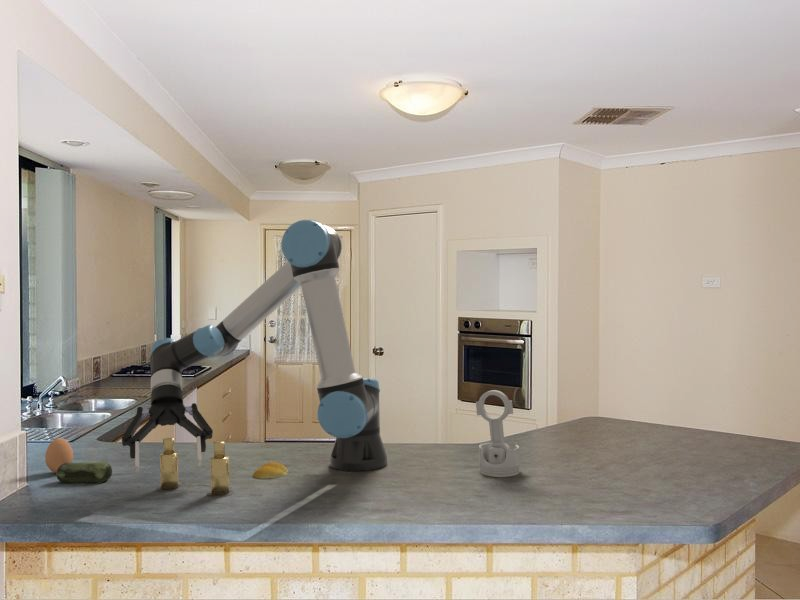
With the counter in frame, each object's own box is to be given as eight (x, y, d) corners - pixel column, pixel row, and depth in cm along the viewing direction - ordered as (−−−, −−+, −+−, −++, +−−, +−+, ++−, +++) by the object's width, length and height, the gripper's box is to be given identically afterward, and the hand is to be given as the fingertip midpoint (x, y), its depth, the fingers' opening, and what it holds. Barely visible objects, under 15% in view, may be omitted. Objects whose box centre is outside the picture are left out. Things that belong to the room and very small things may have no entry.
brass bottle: (182, 486, 160) (181, 437, 160) (170, 491, 156) (169, 440, 156) (168, 485, 161) (167, 436, 161) (156, 489, 158) (155, 439, 158)
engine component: (513, 478, 166) (523, 468, 176) (511, 394, 166) (522, 388, 175) (470, 474, 171) (483, 465, 180) (469, 392, 171) (481, 387, 180)
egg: (62, 476, 177) (61, 441, 177) (39, 475, 178) (39, 440, 178) (79, 469, 184) (78, 435, 184) (57, 469, 185) (56, 435, 185)
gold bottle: (233, 491, 155) (232, 440, 155) (222, 496, 151) (221, 444, 151) (218, 490, 156) (217, 439, 156) (207, 495, 153) (206, 443, 153)
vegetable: (116, 478, 174) (115, 459, 174) (107, 484, 169) (106, 464, 169) (61, 479, 175) (61, 460, 175) (50, 485, 169) (50, 465, 169)
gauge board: (254, 493, 158) (254, 487, 158) (223, 509, 147) (223, 502, 146) (169, 485, 166) (169, 480, 166) (133, 499, 155) (133, 493, 155)
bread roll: (248, 484, 166) (248, 468, 166) (262, 475, 175) (261, 459, 175) (280, 485, 165) (280, 468, 165) (293, 475, 174) (292, 460, 174)
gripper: (217, 398, 177) (224, 469, 163) (113, 404, 169) (110, 480, 155) (219, 379, 172) (225, 451, 158) (111, 385, 164) (108, 462, 150)
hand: (169, 466), depth 157 cm, fingers open, 13 cm apart
